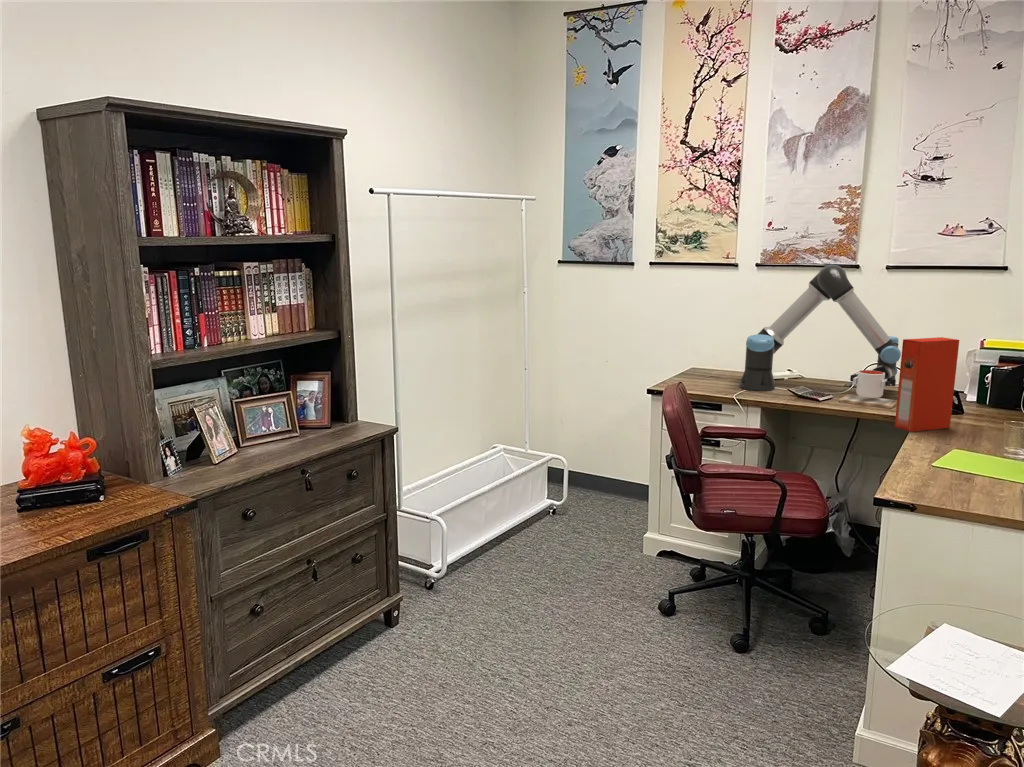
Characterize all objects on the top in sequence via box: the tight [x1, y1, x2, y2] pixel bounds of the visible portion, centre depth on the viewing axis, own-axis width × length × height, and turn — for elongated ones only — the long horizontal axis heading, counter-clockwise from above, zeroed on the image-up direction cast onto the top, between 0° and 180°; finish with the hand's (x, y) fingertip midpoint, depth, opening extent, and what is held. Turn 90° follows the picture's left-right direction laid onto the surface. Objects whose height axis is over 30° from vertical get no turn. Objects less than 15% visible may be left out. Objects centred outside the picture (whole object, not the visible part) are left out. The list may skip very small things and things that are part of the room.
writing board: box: [838, 393, 897, 409], centre depth 312 cm, size 20×14×1 cm
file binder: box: [894, 336, 960, 433], centre depth 269 cm, size 8×17×32 cm, turn 109°
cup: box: [855, 369, 885, 398], centre depth 311 cm, size 10×10×10 cm
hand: (868, 383), depth 307 cm, fingers closed on cup, 10 cm apart
